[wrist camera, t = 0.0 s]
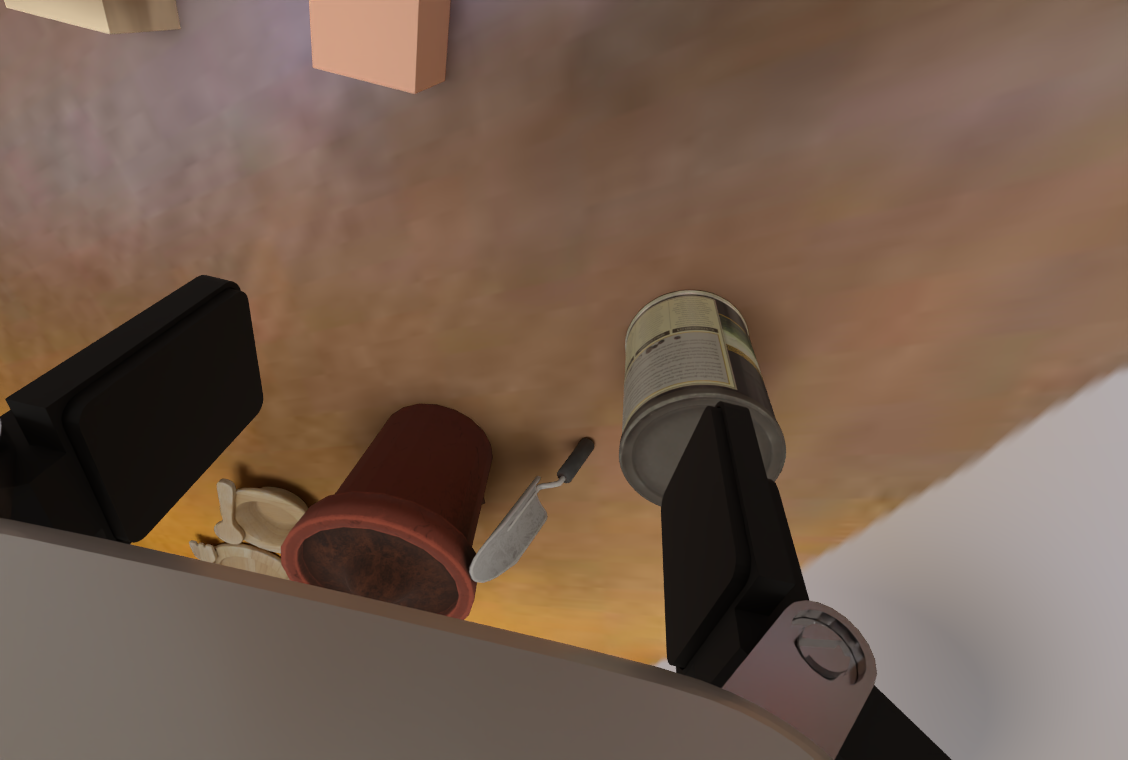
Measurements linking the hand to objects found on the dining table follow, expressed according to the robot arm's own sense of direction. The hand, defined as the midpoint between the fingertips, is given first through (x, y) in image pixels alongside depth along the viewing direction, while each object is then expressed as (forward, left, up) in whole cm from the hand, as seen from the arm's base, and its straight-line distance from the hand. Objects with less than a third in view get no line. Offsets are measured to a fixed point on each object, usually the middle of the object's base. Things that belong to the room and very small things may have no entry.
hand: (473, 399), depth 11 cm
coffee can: (+15, +12, -32) cm, 37 cm away
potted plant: (+34, -5, -32) cm, 47 cm away
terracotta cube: (-3, -13, -31) cm, 34 cm away
